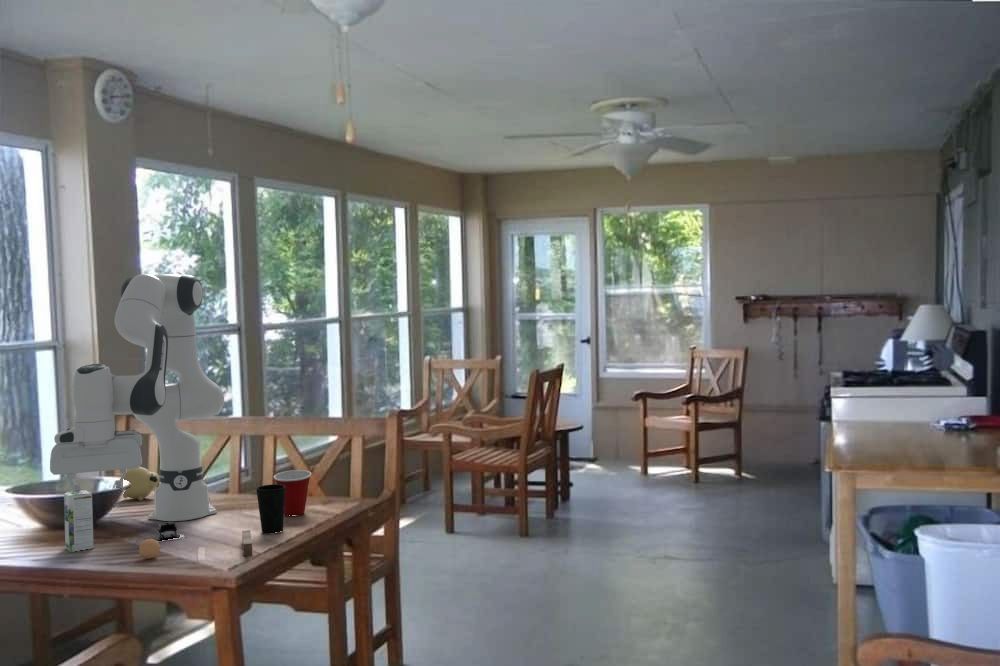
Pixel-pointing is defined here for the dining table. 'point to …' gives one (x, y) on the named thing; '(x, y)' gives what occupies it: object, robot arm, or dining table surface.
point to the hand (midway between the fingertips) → (98, 489)
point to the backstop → (247, 543)
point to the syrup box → (78, 520)
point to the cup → (271, 507)
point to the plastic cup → (294, 490)
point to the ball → (149, 548)
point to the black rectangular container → (166, 527)
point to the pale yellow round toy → (140, 482)
